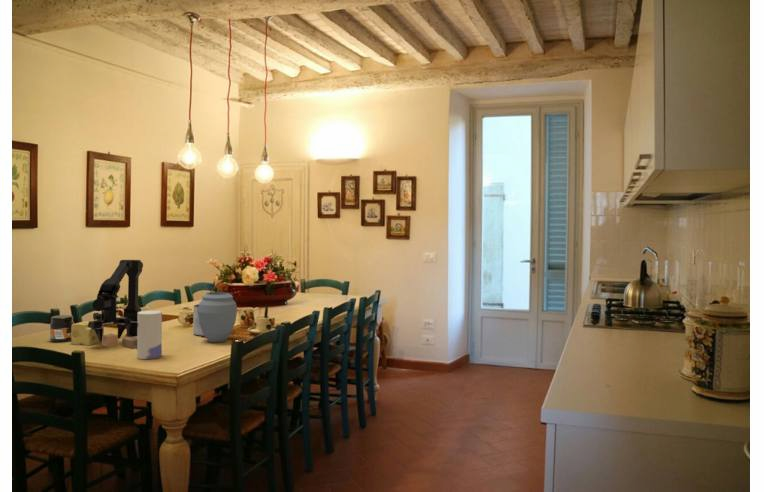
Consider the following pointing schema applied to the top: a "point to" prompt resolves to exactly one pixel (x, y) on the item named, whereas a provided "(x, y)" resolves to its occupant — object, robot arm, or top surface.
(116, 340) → the pink cube
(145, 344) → the container
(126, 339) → the mauve short cylinder
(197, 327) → the planter
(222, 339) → the vase
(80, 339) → the cheese
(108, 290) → the robot arm
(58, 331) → the supplement container
